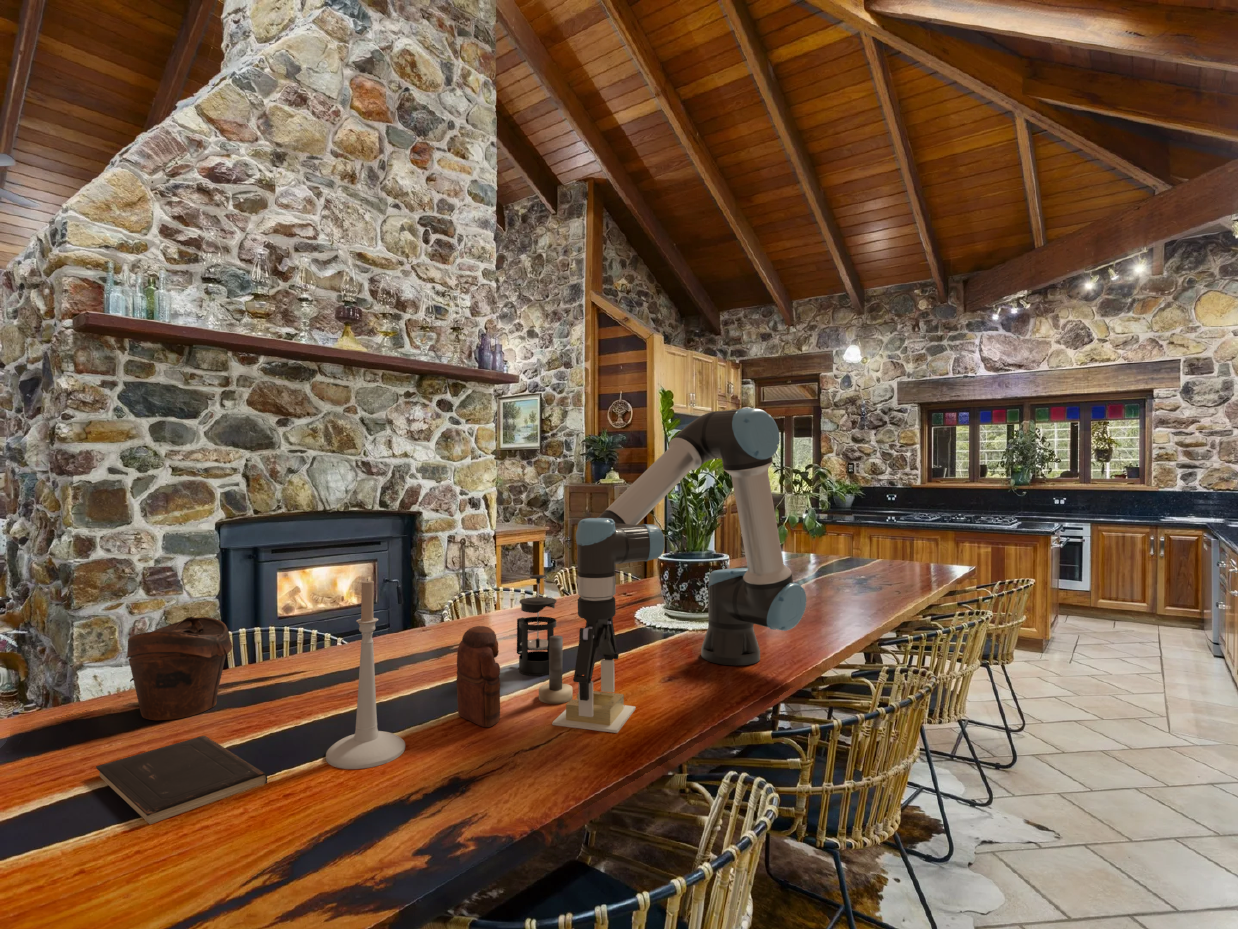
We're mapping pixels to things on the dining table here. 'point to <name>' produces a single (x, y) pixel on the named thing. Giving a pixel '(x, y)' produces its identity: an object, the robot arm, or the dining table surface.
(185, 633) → the case
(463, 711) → the wooden figurine
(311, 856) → the dining table surface
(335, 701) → the dining table surface
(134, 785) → the hardcover book
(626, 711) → the felt mat
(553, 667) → the peg stand
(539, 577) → the french press
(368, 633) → the candlestick
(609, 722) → the brass C-link
